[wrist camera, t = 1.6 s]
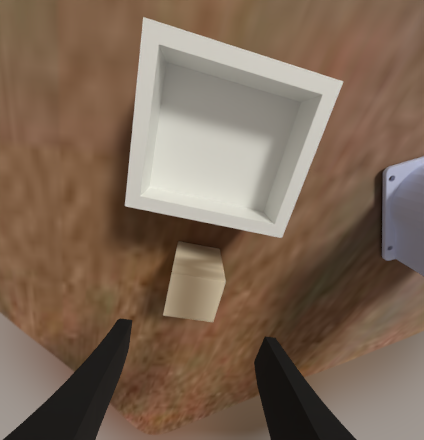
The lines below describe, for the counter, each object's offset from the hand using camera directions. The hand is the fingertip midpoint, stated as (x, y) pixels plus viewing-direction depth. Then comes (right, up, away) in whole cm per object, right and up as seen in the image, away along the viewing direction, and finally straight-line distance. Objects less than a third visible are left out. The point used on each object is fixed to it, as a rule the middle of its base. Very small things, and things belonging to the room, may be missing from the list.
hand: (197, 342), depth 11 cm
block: (-1, +2, +9) cm, 10 cm away
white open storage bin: (+1, +12, +5) cm, 14 cm away
